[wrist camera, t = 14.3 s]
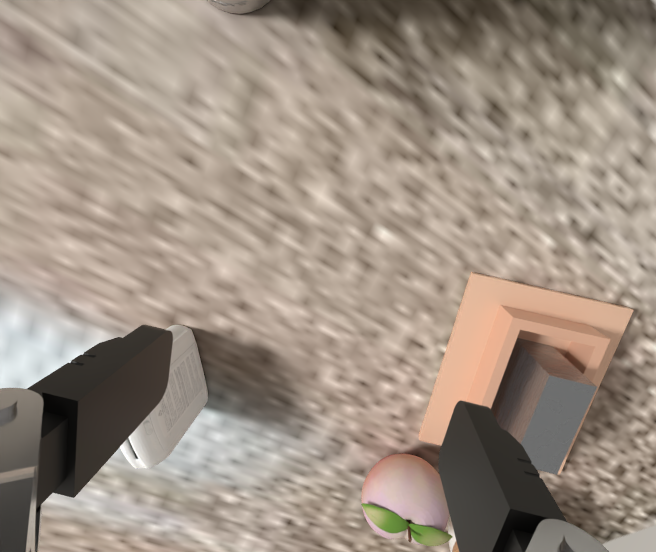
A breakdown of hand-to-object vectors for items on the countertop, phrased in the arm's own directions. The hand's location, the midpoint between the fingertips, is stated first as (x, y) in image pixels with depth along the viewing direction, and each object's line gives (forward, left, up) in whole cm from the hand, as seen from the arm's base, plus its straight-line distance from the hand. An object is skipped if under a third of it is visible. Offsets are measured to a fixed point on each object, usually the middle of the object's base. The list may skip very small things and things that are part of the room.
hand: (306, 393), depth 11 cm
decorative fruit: (+25, +12, -30) cm, 41 cm away
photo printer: (+19, -15, -30) cm, 39 cm away
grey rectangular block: (+11, +21, -29) cm, 38 cm away
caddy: (+11, +21, -30) cm, 38 cm away
